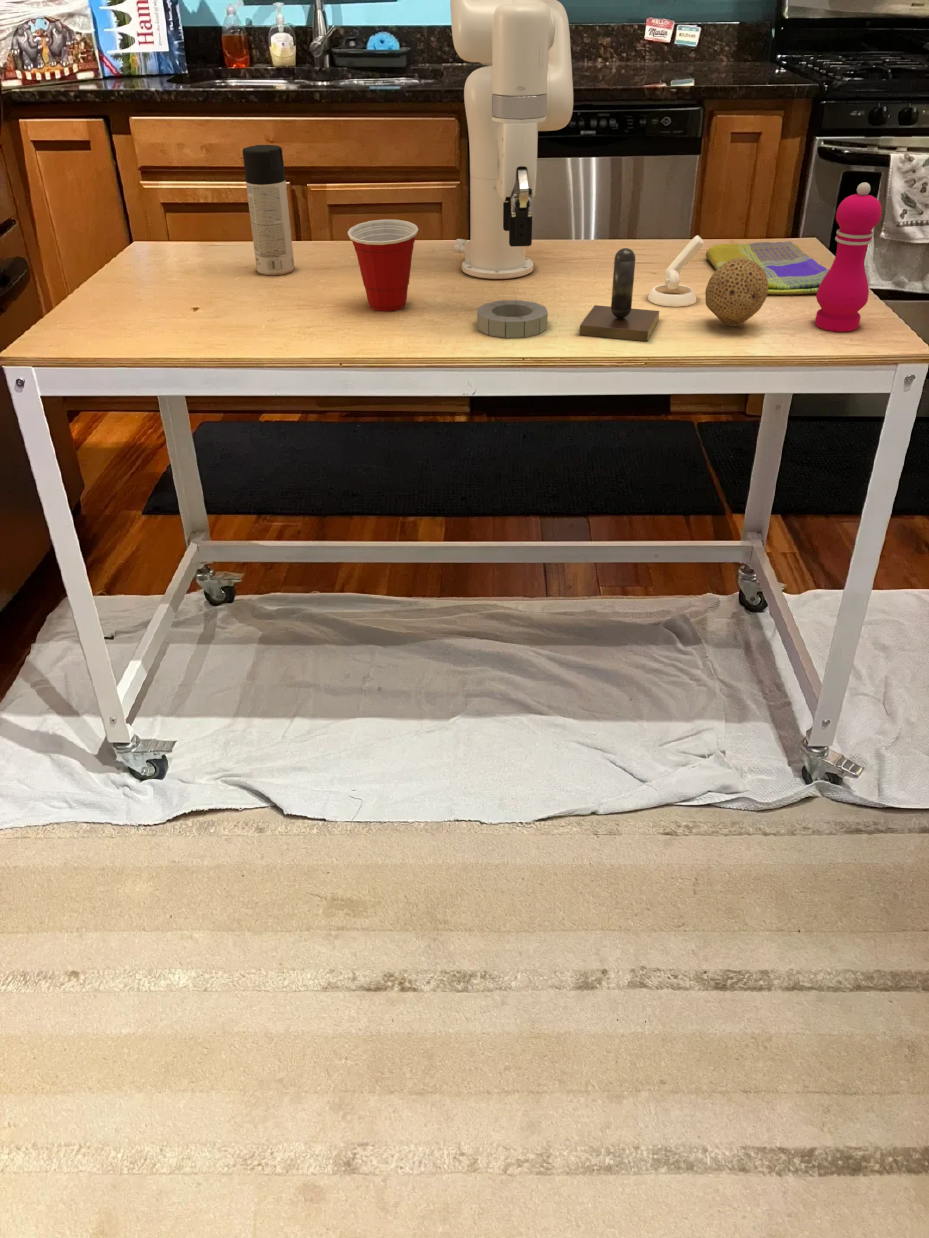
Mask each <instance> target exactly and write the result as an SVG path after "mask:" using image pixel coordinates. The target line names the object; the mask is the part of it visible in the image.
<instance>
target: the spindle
mask: <svg viewBox="0 0 929 1238" xmlns="http://www.w3.org/2000/svg"><path fill="white" fill-rule="evenodd" d="M613 261H614V262H613V273H612V274H613V275H612V286H611V288H612V289H611V301H610V306H608V305H599V304H598V305H597V304H595V305H593V307H592V308H591V309H590V311H588V314H587V315H586V316H585V318H584V319H583V320H582V322H581V323H580V325H579V335H580V336H588V337H597V338H599V337H600V338H608V339H618V340H629V341H636V342H637V341H638V342H639V341H640V342H648V340H649V339H650V337H651V335H652V333H653V332H654V330H655V328H656V326H657V324H658V322H659V320H660V319H659V318H660V310H653V309H642V308H633V307H632V306H633V293H634V282H635V270H636V269H635V268H636V254H635V252H634V251H633V250H632V249H631V248H628V247H623V248H620V249H619V250H617V252H616V253H615V255H614V260H613Z"/></svg>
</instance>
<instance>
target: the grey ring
mask: <svg viewBox="0 0 929 1238" xmlns="http://www.w3.org/2000/svg"><path fill="white" fill-rule="evenodd" d="M548 314H549V312H548V309H547V307H546V306H544V305H542V304H540V303H537V302H534V301H529V300H520V299H512V300H511V299H506V300H505V299H503V300H496V301H491V302H487V303H484V304H482V305H481V306H479V307H477V309H476V328H477V330H478V331H479V332H481V333H483V334H485V335H486V336H490V337H498V338H503V339H505V338H506V339H522V338H528V337H532V336H538V335H540V334H542V333H544V332H545V331H546V330H547V329H548Z"/></svg>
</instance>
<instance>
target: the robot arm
mask: <svg viewBox="0 0 929 1238" xmlns="http://www.w3.org/2000/svg"><path fill="white" fill-rule="evenodd" d="M449 5H450V6H449V7H450V23H451V36H452V37H451V38H452V42H453V47H454V50H455V52H456V54H457V55H458V57H459V58H460V59H461V60H463V61H465V62H468V63H480V64H481V65H483V66H482V67H478V68H476V69H475V70H473V71H472V72H471V73H470V74H469V75H468V76H467V78H466V80H465V82H464V88H463V100H464V101H463V103H464V109H465V117H466V123H467V132H468V143H469V144H468V145H469V192H470V193H469V198H470V199H469V201H470V203H469V204H470V205H469V207H470V210H469V211H470V213H469V216H470V217H469V218H470V219H469V221H470V226H469V227H470V228H469V229H470V230H469V231H470V233H469V234H470V235H469V236H470V240H467V239H463V238H456V240H455V242H454V245H453V250H452V251H453V253H456V254H464V260H463V261H462V262H461V270H462V272H464V274H466V275H469V276H470V277H475V278H480V279H489V280H490V279H491V280H505V279H506V280H507V279H515V278H520V277H524V276H527V275H529V274H530V273H532V272H533V271H534V267H535V266H534V264H535V263H534V261H533V260H532V259H531V258H528V257H526V247H531V246H532V244H533V214H532V200H533V199H534V198H535V197H536V189H537V176H538V175H537V173H538V172H537V171H538V170H537V169H538V145H539V144H538V140H539V138H538V137H539V132H550V131H551V132H552V131H553V132H554V131H559V130H561V129H562V130H563V128H565V127H567V125H569V123H570V121H571V119H572V116H573V110H574V80H573V66H572V52H571V51H572V50H571V35H570V23H569V17H568V14H567V10H566V8H565V7H564V5H563V4H562V3H561V2H560V1H558V0H449Z"/></svg>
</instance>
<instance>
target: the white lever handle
mask: <svg viewBox="0 0 929 1238" xmlns="http://www.w3.org/2000/svg"><path fill="white" fill-rule="evenodd" d="M704 244H705V243H704V240H703V238H702V237H700V235H698V234H697V235H695V236H694V237H693V238H692V239H691V240H690V241H689V242H688V243H687V245H686V246H685V247H684V248H683V249H682V250H681V251H680V252H679V254H678V255H677V256H676V257H675V259H673V260H672V262H671V263H670V264H669V265H668V266H667V268H666V269H665V271H664V276H663V277H664V278H663V280H664V283H662V284H657V285H655V286H653V287H652V289H651V290H650V292H649V294H648V296H647V300H648V301H649V303H652V304H655V305H657V306H663V307H672V308H673V307H675V308H678V307H688V306H691V305H694V304H696V302H697V296H696V293H695V290H694V289H693V288H692V287H691V286H689V285H685V284H680V282H681V279H680V274H681V272H682V270H683V269H684V267H685V266H687V265H688V264H689V263H690V261H691V260H692V259H693V258H694V257H695V255H696V254H697V253H698V252H699V251H700V250H701V248H703V247H704Z"/></svg>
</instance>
